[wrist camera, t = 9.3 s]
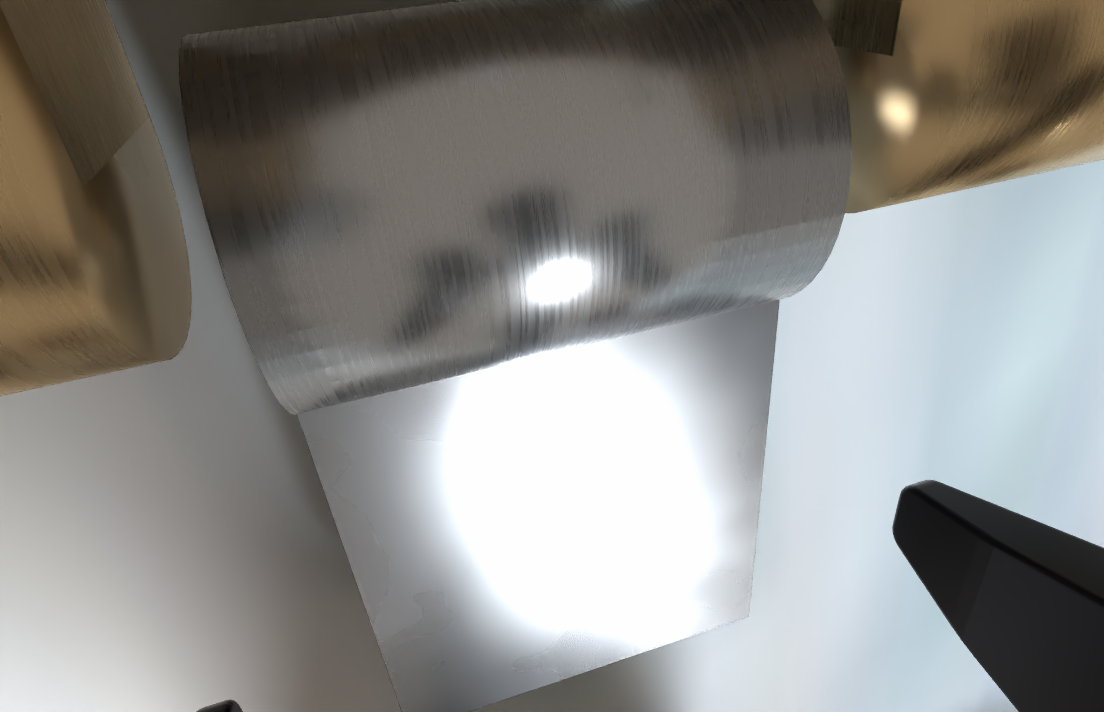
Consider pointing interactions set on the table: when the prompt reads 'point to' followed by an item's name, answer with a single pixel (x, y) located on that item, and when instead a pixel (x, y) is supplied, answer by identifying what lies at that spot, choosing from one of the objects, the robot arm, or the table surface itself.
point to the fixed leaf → (156, 228)
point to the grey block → (526, 303)
